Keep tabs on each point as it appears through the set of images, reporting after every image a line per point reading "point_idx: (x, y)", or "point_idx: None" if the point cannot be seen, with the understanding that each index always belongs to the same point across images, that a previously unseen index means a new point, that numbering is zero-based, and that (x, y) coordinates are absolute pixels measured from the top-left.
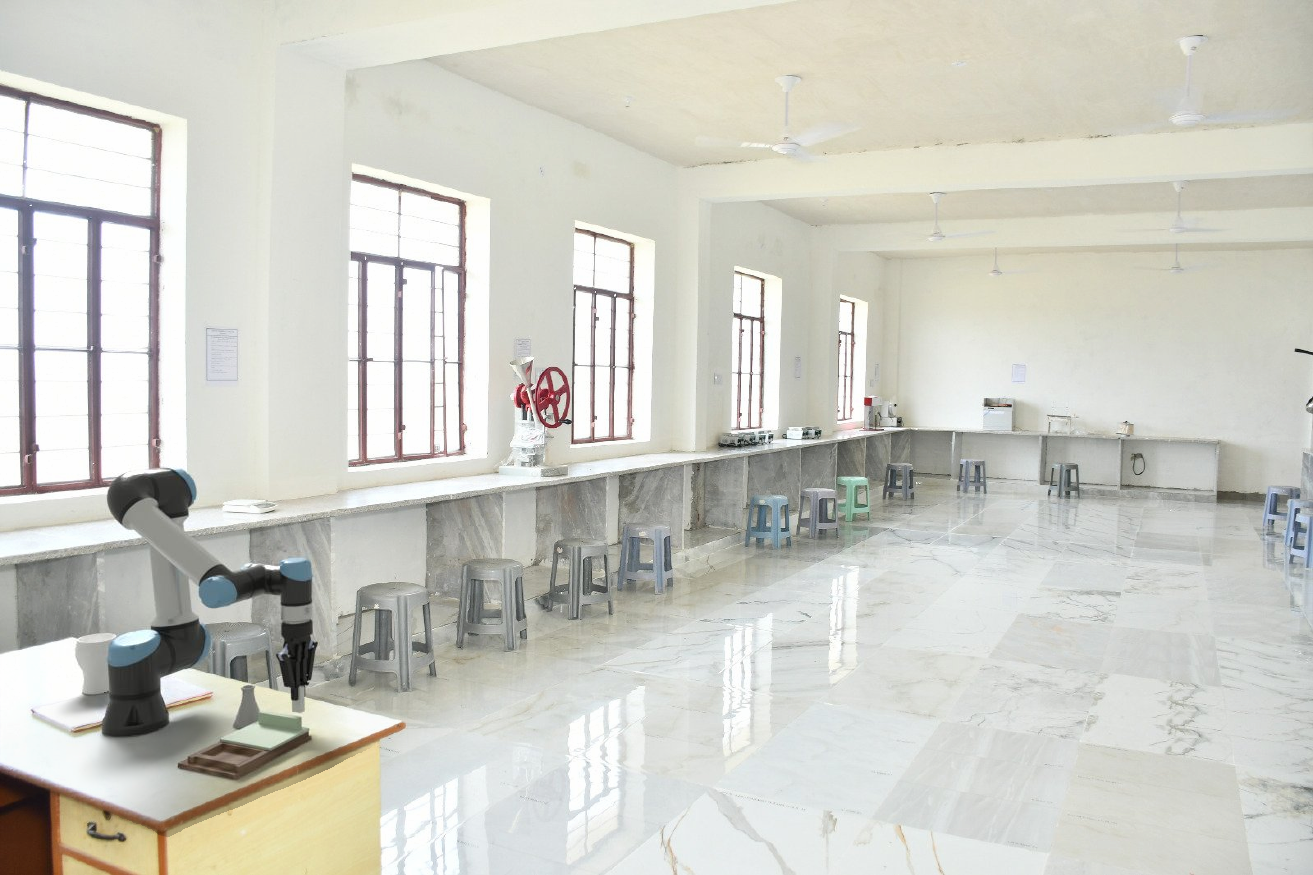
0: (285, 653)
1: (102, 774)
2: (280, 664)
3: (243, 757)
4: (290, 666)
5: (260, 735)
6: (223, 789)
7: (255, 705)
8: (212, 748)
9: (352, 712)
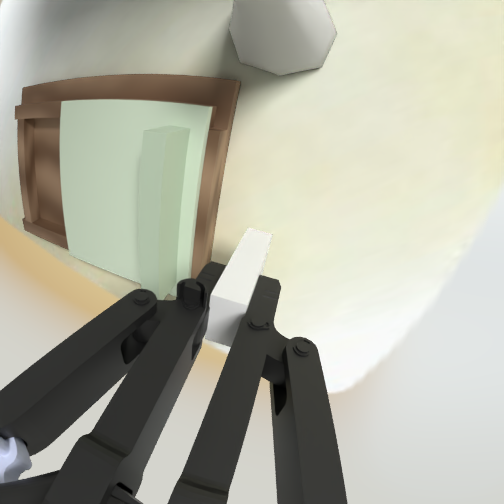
0: (2, 464)
1: (13, 13)
2: (15, 386)
3: (61, 192)
4: (66, 419)
5: (100, 193)
6: (18, 220)
7: (274, 34)
8: (42, 117)
9: (415, 313)
